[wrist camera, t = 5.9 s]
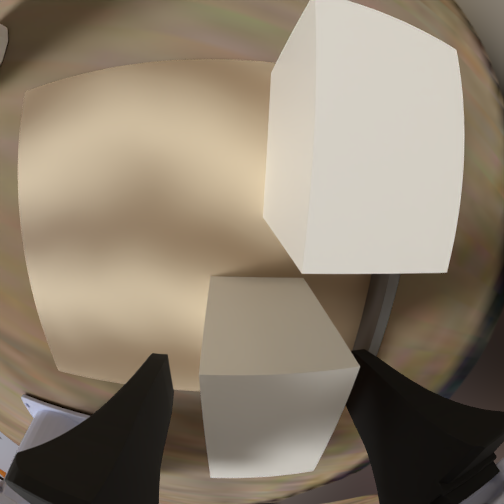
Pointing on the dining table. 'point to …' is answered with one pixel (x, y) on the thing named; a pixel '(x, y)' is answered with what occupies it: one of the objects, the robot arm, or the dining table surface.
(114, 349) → the shelf board
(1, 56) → the white cup
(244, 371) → the carton
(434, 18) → the dining table surface
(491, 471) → the robot arm
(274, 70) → the faced carton
